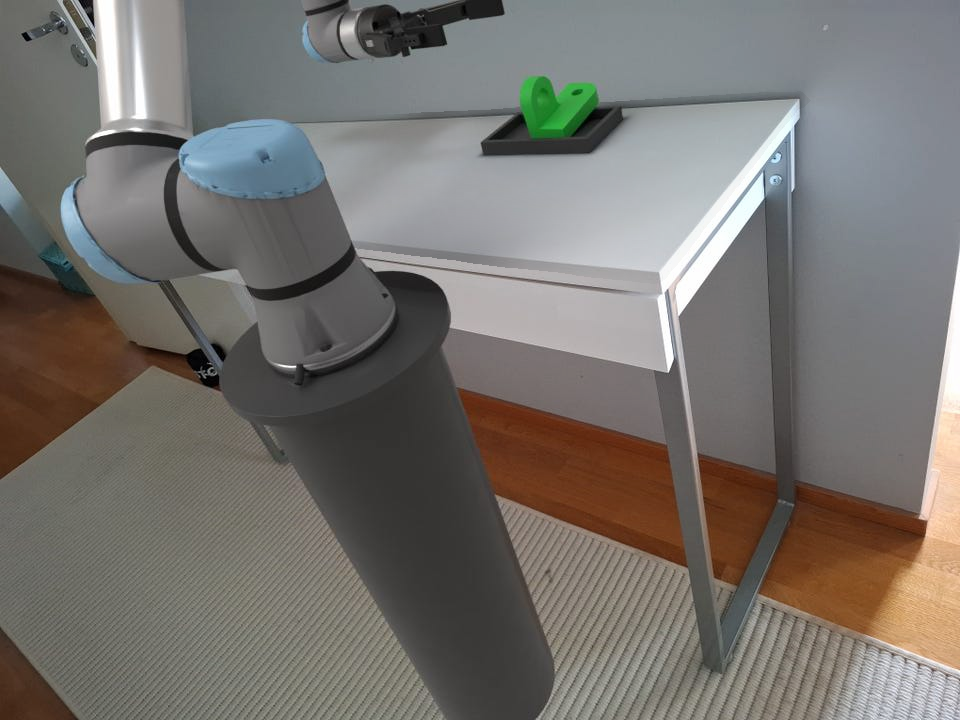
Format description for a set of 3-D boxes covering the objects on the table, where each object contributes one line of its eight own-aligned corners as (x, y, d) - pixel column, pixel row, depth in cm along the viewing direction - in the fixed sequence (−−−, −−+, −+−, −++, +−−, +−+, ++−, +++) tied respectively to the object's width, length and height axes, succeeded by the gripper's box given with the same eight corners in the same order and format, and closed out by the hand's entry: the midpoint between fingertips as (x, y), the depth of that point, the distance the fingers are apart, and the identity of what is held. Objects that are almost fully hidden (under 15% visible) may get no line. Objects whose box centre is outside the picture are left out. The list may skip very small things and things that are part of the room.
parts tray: (589, 152, 90) (587, 138, 89) (483, 155, 100) (480, 142, 99) (623, 119, 97) (621, 105, 96) (520, 124, 107) (518, 112, 106)
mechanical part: (566, 141, 94) (551, 89, 89) (532, 140, 98) (515, 90, 92) (606, 94, 99) (594, 42, 94) (572, 95, 103) (558, 44, 97)
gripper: (431, 32, 116) (528, 20, 103) (327, 84, 103) (424, 77, 90) (418, -15, 112) (517, -34, 99) (308, 32, 99) (406, 18, 85)
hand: (473, 19), depth 94 cm, fingers open, 13 cm apart
